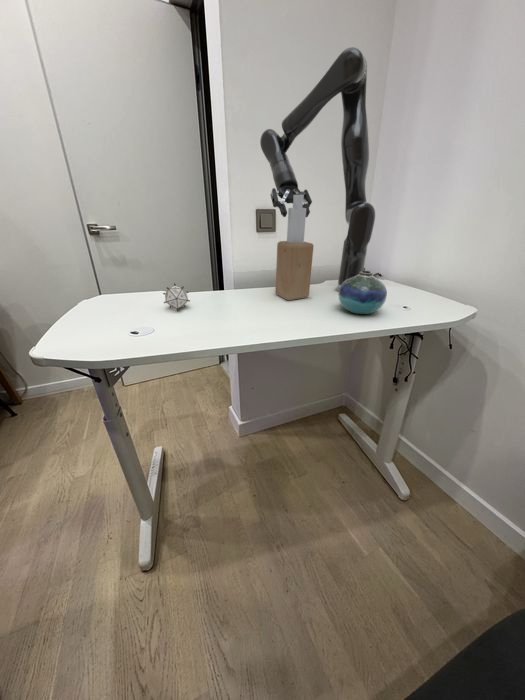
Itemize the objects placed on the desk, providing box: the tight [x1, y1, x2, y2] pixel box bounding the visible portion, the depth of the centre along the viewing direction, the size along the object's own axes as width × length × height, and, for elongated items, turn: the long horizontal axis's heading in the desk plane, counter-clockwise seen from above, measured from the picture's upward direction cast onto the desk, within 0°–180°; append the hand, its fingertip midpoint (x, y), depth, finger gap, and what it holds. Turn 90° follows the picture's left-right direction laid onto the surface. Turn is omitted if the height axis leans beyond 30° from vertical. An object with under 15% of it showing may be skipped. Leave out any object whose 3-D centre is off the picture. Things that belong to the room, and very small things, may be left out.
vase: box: [338, 270, 388, 315], centre depth 96 cm, size 15×15×13 cm
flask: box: [286, 195, 307, 243], centre depth 101 cm, size 6×6×15 cm
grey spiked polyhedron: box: [162, 283, 191, 312], centre depth 96 cm, size 9×8×10 cm
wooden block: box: [274, 240, 315, 301], centre depth 109 cm, size 10×10×20 cm
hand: (296, 215), depth 101 cm, fingers open, 8 cm apart
